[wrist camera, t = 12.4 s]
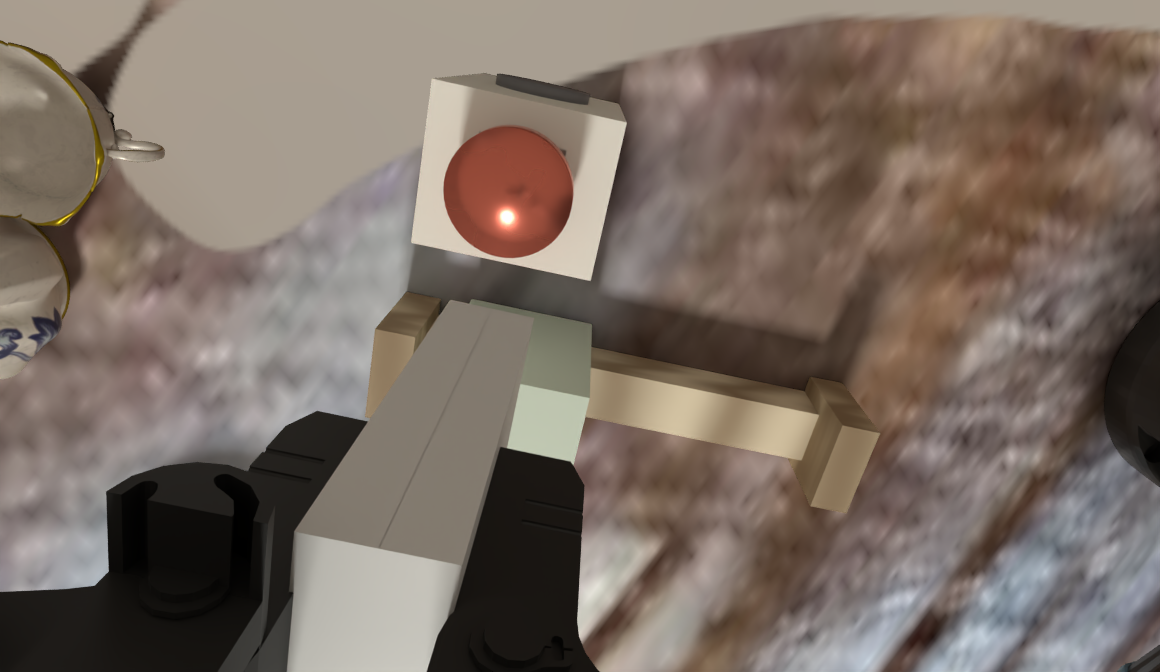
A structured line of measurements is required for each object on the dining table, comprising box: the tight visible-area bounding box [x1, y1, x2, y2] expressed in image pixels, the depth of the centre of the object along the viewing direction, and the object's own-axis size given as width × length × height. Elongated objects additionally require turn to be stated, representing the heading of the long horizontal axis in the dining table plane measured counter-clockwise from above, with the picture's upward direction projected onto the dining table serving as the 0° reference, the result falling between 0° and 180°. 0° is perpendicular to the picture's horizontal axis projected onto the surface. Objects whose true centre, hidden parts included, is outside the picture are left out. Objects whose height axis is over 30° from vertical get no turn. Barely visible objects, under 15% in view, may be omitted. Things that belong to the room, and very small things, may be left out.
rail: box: [365, 292, 880, 513], centre depth 39 cm, size 26×5×6 cm, turn 78°
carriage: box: [469, 299, 592, 465], centre depth 37 cm, size 7×6×10 cm
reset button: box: [443, 125, 574, 258], centre depth 26 cm, size 4×4×4 cm
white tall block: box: [411, 73, 627, 281], centre depth 31 cm, size 7×6×12 cm
